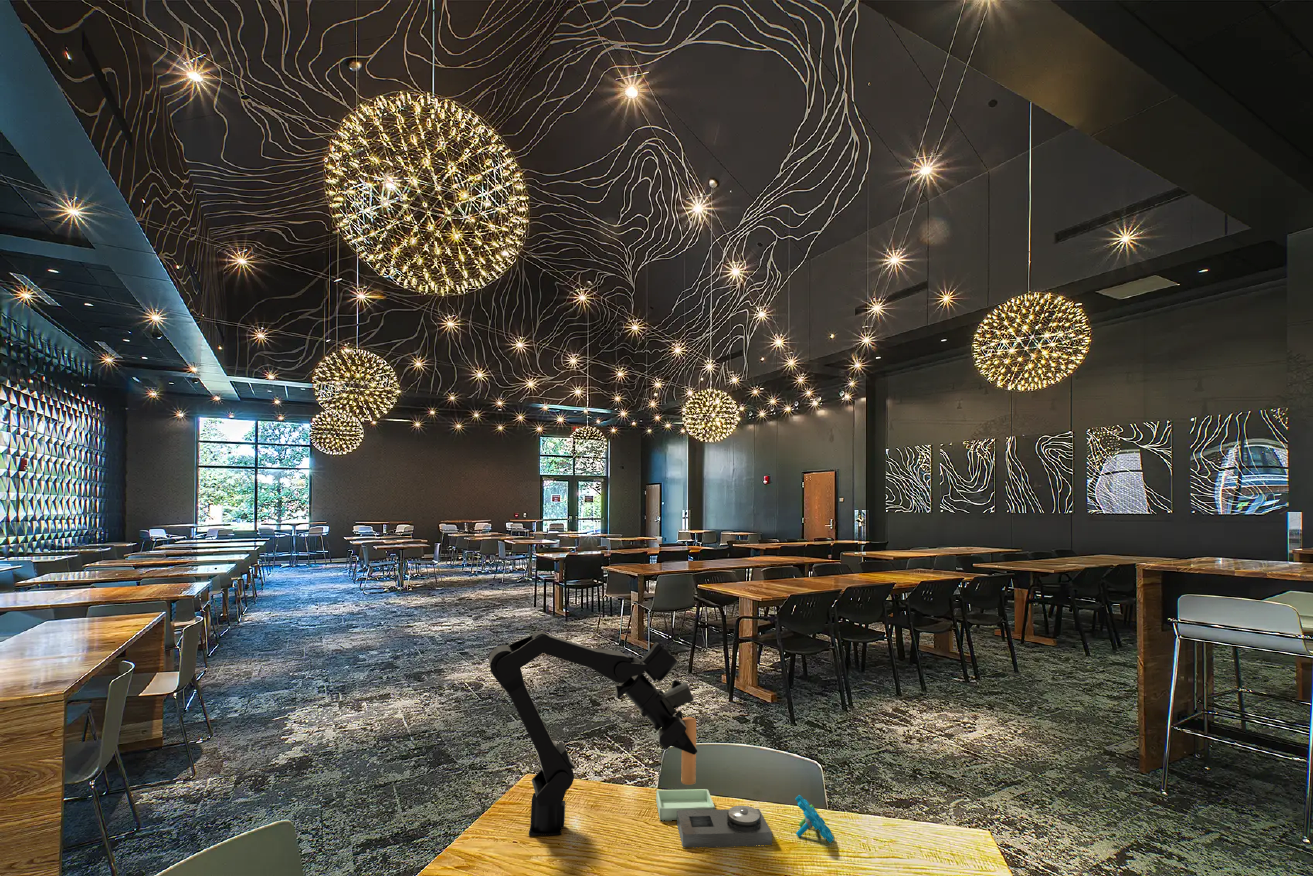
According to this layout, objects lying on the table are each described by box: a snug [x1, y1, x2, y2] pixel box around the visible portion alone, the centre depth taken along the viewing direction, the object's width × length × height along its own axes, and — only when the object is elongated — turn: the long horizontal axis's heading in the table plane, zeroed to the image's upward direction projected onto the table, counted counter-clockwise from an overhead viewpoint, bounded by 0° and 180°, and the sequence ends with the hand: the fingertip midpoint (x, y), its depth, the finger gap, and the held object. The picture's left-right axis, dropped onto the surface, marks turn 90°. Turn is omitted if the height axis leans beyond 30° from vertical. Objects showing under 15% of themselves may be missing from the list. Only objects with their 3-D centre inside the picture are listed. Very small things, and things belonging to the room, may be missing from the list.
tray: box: [655, 788, 716, 822], centre depth 133 cm, size 12×9×2 cm
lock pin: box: [680, 716, 697, 786], centre depth 133 cm, size 3×3×13 cm
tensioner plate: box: [676, 805, 773, 849], centre depth 123 cm, size 18×10×5 cm, turn 95°
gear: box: [794, 794, 835, 844], centre depth 123 cm, size 11×6×10 cm
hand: (694, 749), depth 133 cm, fingers closed on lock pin, 3 cm apart
